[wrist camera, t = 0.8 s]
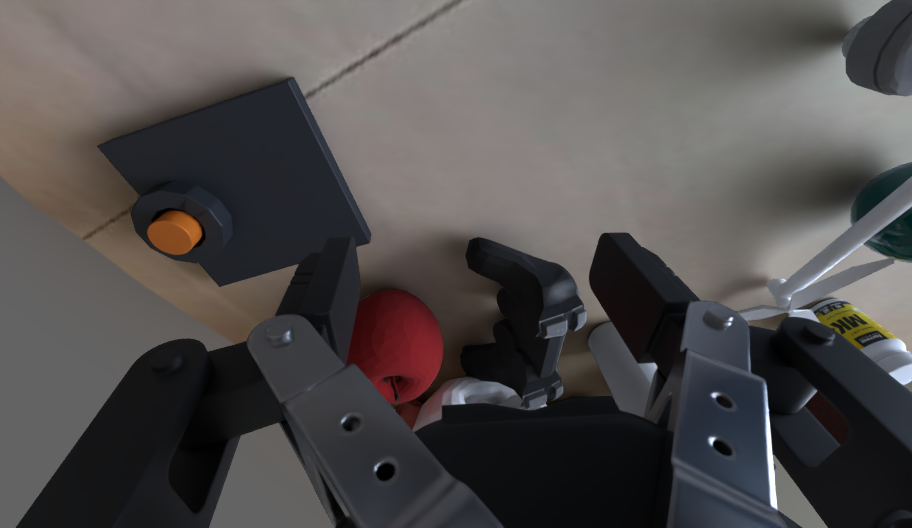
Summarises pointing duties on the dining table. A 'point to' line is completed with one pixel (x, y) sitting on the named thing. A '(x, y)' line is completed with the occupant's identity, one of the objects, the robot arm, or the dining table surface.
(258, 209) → the push button pad
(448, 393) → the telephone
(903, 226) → the sphere
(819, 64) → the dining table surface
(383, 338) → the apple
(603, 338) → the beverage can
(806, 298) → the wind turbine
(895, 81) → the light bulb
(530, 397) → the game controller
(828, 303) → the supplement bottle
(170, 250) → the button
